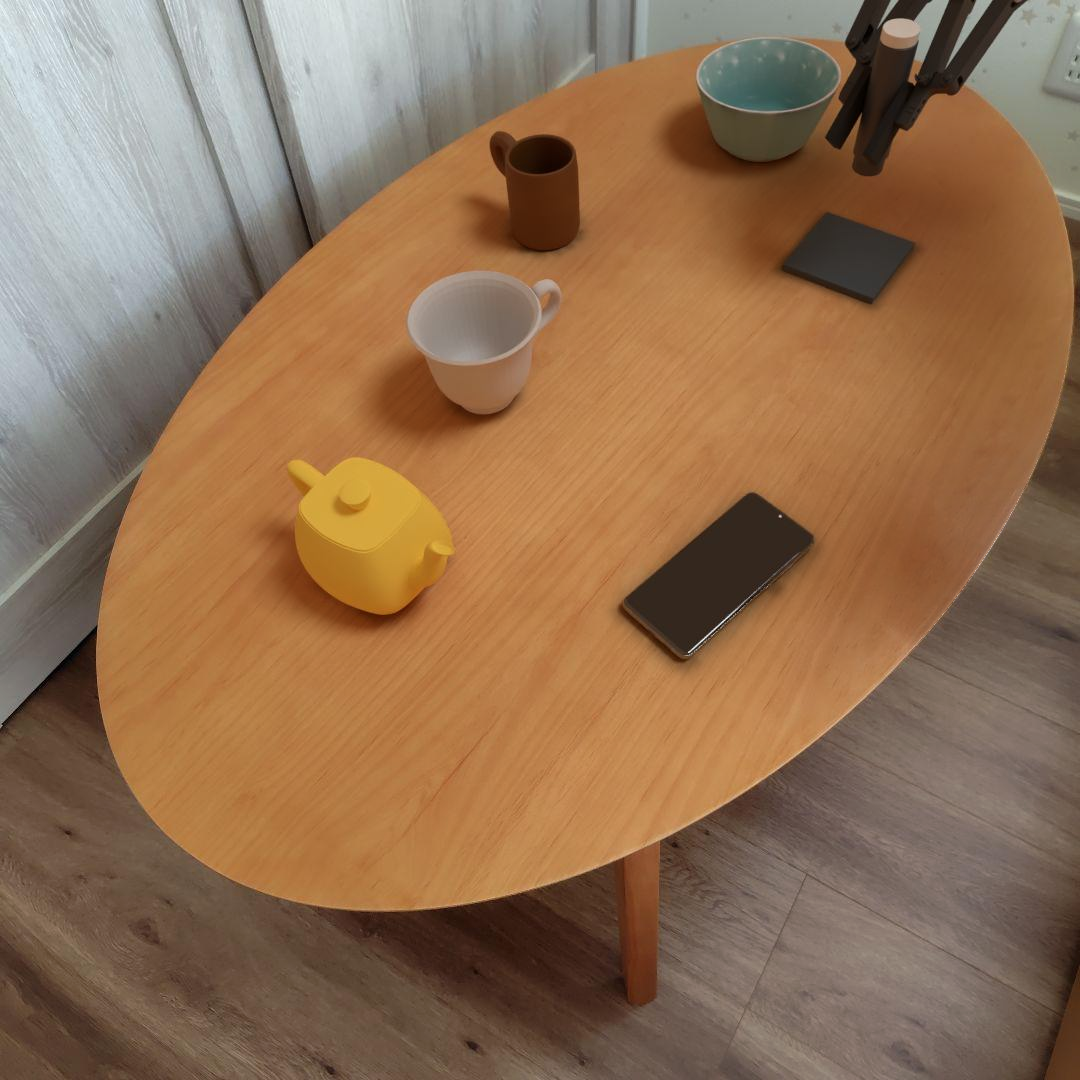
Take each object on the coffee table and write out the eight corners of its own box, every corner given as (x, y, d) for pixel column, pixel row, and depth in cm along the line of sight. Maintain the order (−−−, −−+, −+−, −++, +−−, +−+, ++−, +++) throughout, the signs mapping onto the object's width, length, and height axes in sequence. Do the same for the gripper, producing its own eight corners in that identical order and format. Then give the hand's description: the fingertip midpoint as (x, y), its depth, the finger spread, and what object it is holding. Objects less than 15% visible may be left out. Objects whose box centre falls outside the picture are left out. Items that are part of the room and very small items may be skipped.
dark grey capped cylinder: (890, 163, 88) (928, 23, 78) (875, 182, 87) (912, 41, 76) (858, 153, 89) (891, 14, 79) (843, 171, 88) (875, 31, 77)
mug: (473, 214, 107) (462, 138, 99) (524, 184, 109) (516, 108, 102) (543, 262, 101) (536, 186, 93) (594, 230, 104) (592, 153, 96)
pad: (913, 248, 98) (915, 242, 98) (871, 304, 94) (873, 298, 94) (825, 217, 102) (826, 211, 102) (781, 270, 98) (782, 263, 97)
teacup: (597, 391, 90) (595, 311, 82) (462, 460, 86) (445, 384, 78) (532, 320, 96) (524, 239, 88) (403, 382, 93) (382, 303, 84)
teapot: (511, 575, 79) (498, 498, 70) (426, 672, 74) (400, 603, 66) (356, 480, 86) (326, 400, 77) (270, 564, 81) (227, 489, 72)
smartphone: (618, 601, 76) (751, 487, 81) (618, 608, 77) (750, 495, 82) (685, 660, 72) (820, 537, 77) (684, 666, 73) (818, 545, 78)
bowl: (664, 135, 113) (667, 67, 106) (765, 87, 117) (774, 20, 110) (751, 198, 105) (760, 130, 98) (856, 145, 109) (872, 76, 102)
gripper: (1112, -78, 76) (940, 199, 83) (932, -128, 83) (789, 132, 91) (1108, -130, 69) (922, 175, 77) (914, -179, 76) (762, 105, 84)
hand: (851, 151), depth 84 cm, fingers closed on dark grey capped cylinder, 3 cm apart
